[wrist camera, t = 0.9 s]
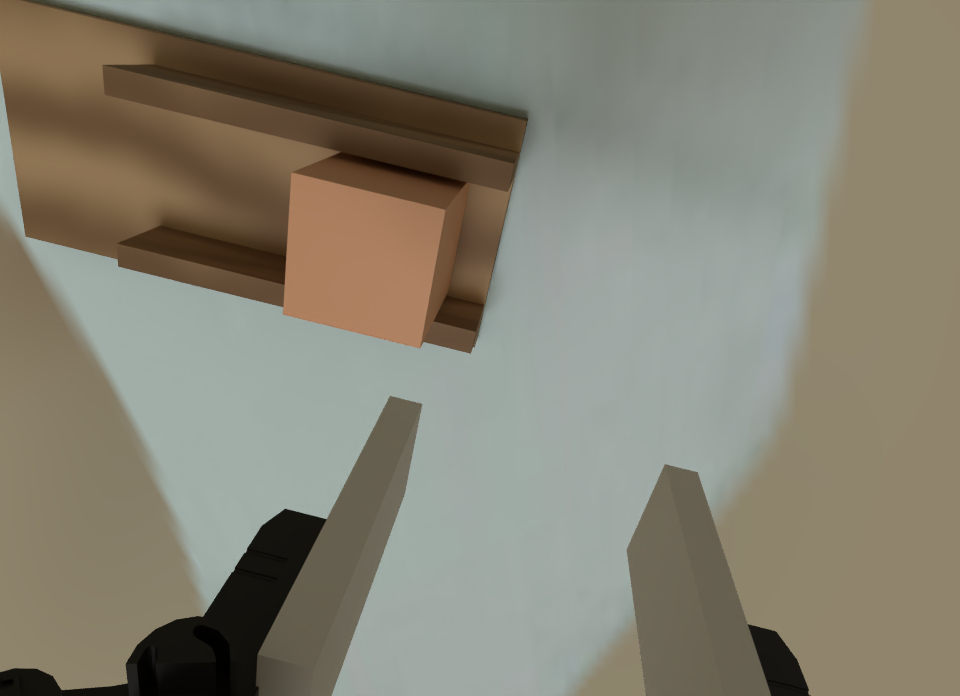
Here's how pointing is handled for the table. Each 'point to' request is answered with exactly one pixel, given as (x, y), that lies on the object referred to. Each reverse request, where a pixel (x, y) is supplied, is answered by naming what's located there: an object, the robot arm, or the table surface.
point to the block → (371, 246)
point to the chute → (223, 153)
